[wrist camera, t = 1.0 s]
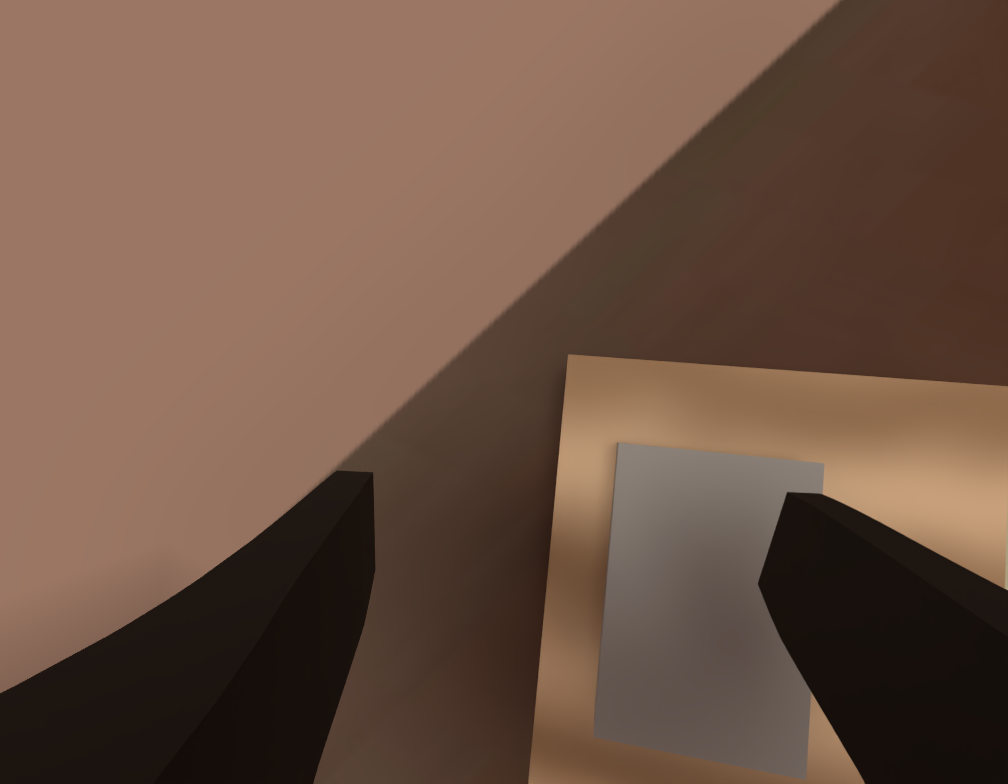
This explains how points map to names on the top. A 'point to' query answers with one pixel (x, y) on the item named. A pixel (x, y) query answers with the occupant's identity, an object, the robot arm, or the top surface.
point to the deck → (762, 433)
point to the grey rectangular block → (699, 610)
